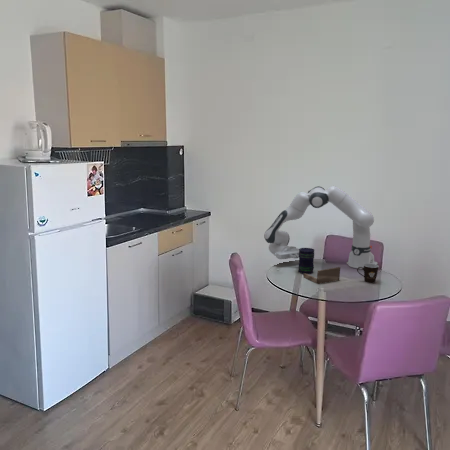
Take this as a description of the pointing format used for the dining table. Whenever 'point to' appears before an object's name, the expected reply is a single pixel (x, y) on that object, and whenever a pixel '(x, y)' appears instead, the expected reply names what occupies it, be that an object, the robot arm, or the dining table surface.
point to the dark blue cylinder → (306, 260)
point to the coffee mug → (369, 272)
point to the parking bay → (325, 275)
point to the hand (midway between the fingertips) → (296, 257)
